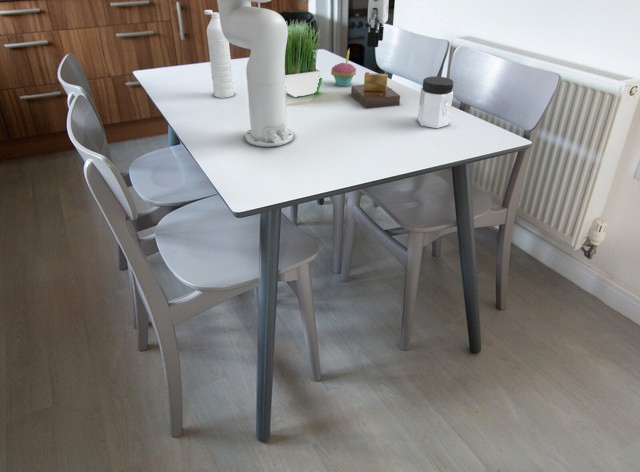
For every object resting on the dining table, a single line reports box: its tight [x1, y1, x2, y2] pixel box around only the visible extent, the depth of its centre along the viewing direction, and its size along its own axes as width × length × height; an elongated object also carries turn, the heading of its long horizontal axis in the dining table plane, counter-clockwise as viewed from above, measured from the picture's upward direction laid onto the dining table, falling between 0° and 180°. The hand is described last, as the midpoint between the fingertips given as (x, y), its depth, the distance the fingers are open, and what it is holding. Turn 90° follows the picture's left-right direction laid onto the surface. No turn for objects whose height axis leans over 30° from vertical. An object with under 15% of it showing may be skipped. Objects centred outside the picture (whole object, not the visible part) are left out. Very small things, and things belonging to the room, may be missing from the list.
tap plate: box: [350, 84, 401, 109], centre depth 159 cm, size 14×11×3 cm
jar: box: [417, 76, 454, 129], centre depth 139 cm, size 9×8×12 cm
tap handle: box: [363, 71, 389, 92], centre depth 157 cm, size 7×2×5 cm, turn 77°
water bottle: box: [203, 9, 235, 99], centre depth 158 cm, size 9×6×25 cm
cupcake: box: [330, 47, 357, 87], centre depth 171 cm, size 9×8×12 cm
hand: (375, 43), depth 151 cm, fingers open, 9 cm apart
